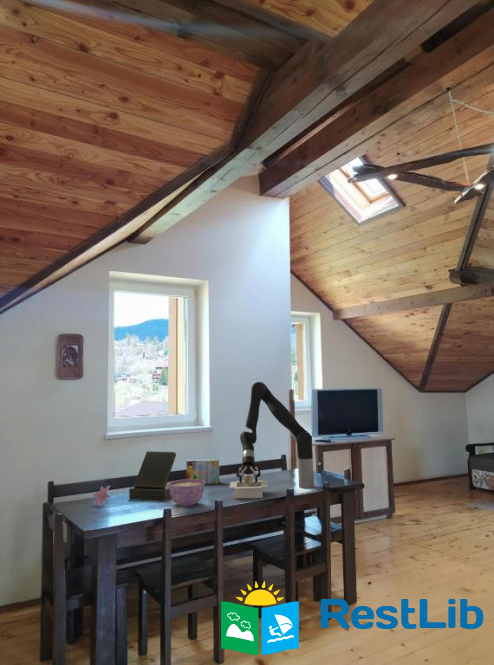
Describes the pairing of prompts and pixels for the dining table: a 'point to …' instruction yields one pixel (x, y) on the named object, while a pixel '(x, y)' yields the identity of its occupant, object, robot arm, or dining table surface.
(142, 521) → the dining table surface
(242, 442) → the robot arm
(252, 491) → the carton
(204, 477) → the snack box
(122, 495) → the dining table surface
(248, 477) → the block
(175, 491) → the bowl of food
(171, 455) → the tilted panel on base
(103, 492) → the lily
